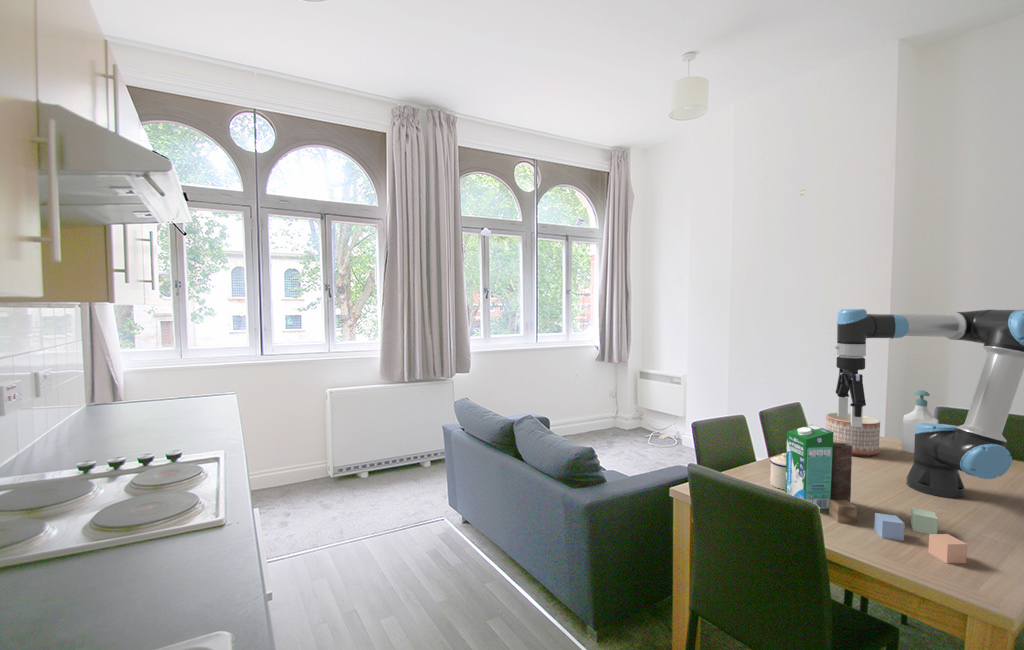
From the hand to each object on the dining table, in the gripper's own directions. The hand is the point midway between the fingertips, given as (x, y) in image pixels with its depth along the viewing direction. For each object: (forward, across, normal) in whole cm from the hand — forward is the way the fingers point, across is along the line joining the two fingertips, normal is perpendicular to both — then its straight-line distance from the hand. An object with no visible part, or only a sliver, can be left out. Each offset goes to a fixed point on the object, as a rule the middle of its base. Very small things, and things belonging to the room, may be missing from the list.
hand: (849, 421), depth 150 cm
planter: (+28, -63, +19) cm, 71 cm away
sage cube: (+27, +14, +15) cm, 34 cm away
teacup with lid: (+27, -9, -16) cm, 33 cm away
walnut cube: (+27, +15, -5) cm, 31 cm away
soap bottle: (+28, -72, +46) cm, 90 cm away
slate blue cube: (+27, +22, +4) cm, 35 cm away
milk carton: (+27, +6, -13) cm, 30 cm away
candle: (+27, +3, -4) cm, 27 cm away
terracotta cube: (+27, +30, +13) cm, 43 cm away
